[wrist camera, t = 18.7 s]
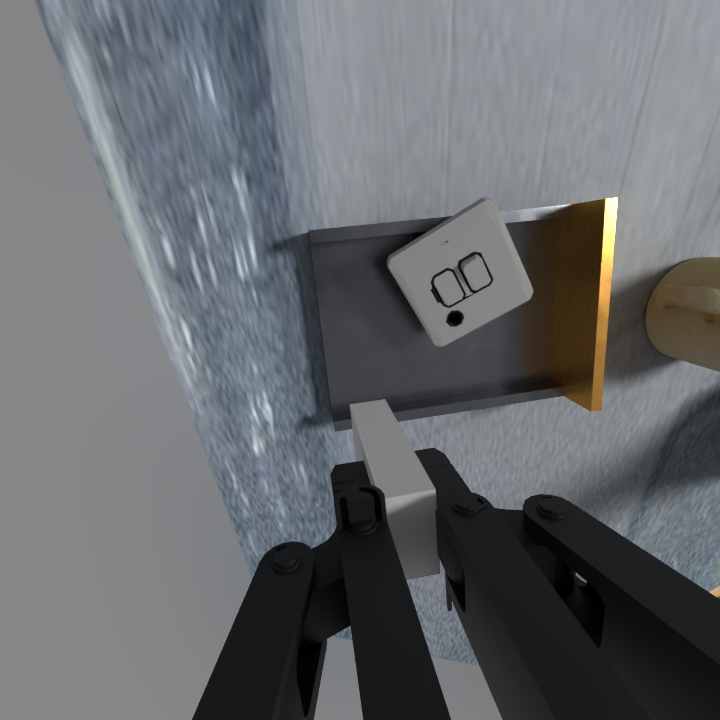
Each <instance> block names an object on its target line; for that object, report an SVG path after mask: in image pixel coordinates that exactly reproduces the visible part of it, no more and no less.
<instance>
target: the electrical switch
mask: <svg viewBox="0 0 720 720" xmlns="http://www.w3.org/2000/svg"><path fill="white" fill-rule="evenodd" d="M387 267H388V269H389V270H390V272H391V273H392V275H393V277H394V278H395V280H396V281H397V283H398V285H399V286H400V288H401V290H402V291H403V293H404V295H405V297H406V298H407V300H408V302H409V303H410V305H411V307H412V308H413V310H414V312H415V313H416V315H417V317H418V318H419V320H420V322H421V323H422V325H423V327H424V329H425V330H426V332H427V334H428V336H429V337H430V339H431V341H432V342H433V344H434V345H436V346H438V347H442V346H445V345H447V344H449V343H451V342H453V341H455V340H456V339H458V338H460V337H462V336H464V335H466V334H467V333H469V332H471V331H473V330H475V329H477V328H479V327H480V326H482V325H484V324H486V323H488V322H490V321H491V320H493V319H495V318H497V317H499V316H501V315H503V314H504V313H506V312H508V311H510V310H512V309H514V308H515V307H517V306H519V305H521V304H523V303H525V302H527V301H528V300H530V299H531V297H532V294H533V288H532V286H531V283H530V281H529V278H528V276H527V274H526V271H525V269H524V267H523V265H522V262H521V260H520V258H519V255H518V253H517V251H516V248H515V246H514V244H513V241H512V239H511V237H510V235H509V232H508V230H507V228H506V225H505V223H504V221H503V218H502V216H501V214H500V212H499V209H498V207H497V205H496V203H495V202H494V201H493V200H491V199H489V198H487V197H484V198H482V199H480V200H478V201H476V202H475V203H473V204H471V205H470V206H468V207H467V208H465V209H463V210H462V211H460V212H459V213H457V214H455V215H454V216H452V217H451V218H449V219H447V220H446V221H444V222H442V223H441V224H439V225H438V226H436V227H434V228H433V229H431V230H430V231H428V232H426V233H425V234H423V235H422V236H420V237H418V238H417V239H415V240H413V241H412V242H410V243H409V244H407V245H405V246H404V247H402V248H401V249H399V250H397V251H396V252H394V253H393V254H391V255H390V256H389V257H388V260H387Z"/></svg>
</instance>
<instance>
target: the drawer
mask: <svg viewBox="0 0 720 720" xmlns="http://www.w3.org/2000/svg"><path fill="white" fill-rule="evenodd" d="M617 200H618V198H609V199H602V200H596V201H589V202H583V203H577V204H570V205H560V206H550V207H540V208H530V209H520V210H510V211H500V214H501V216H502V218H503V221H504V223H505V225H506V228H507V230H508V232H509V235H510V237H511V239H512V241H513V244H514V246H515V248H516V251H517V253H518V255H519V258H520V260H521V262H522V265H523V267H524V269H525V271H526V274H527V276H528V278H529V281H530V283H531V286H532V288H533V294H532V297H531V299H530V300H528V301H527V302H525V303H523V304H521V305H519V306H517V307H515V308H514V309H512V310H510V311H508V312H506V313H504V314H503V315H501V316H499V317H497V318H495V319H493V320H491V321H490V322H488V323H486V324H484V325H482V326H480V327H479V328H477V329H475V330H473V331H471V332H469V333H467V334H466V335H464V336H462V337H460V338H458V339H456V340H455V341H453V342H451V343H449V344H447V345H445V346H442V347H438V346H436V345H434V344H433V342H432V341H431V339H430V337H429V336H428V334H427V332H426V330H425V329H424V327H423V325H422V323H421V322H420V320H419V318H418V317H417V315H416V313H415V312H414V310H413V308H412V307H411V305H410V303H409V302H408V300H407V298H406V297H405V295H404V293H403V291H402V290H401V288H400V286H399V285H398V283H397V281H396V280H395V278H394V277H393V275H392V273H391V272H390V270H389V269H388V267H387V260H388V257H389V256H390V255H391V254H393V253H394V252H396V251H397V250H399V249H401V248H402V247H404V246H405V245H407V244H409V243H410V242H412V241H413V240H415V239H417V238H418V237H420V236H422V235H423V234H425V233H426V232H428V231H430V230H431V229H433V228H434V227H436V226H438V225H439V224H441V223H442V222H444V221H446V220H447V219H449V218H451V217H452V216H450V217H440V218H430V219H420V220H410V221H400V222H390V223H380V224H370V225H359V226H349V227H339V228H329V229H319V230H309V232H308V234H309V242H310V249H311V257H312V265H313V272H314V280H315V288H316V295H317V303H318V311H319V318H320V326H321V334H322V341H323V349H324V357H325V364H326V372H327V380H328V387H329V395H330V403H331V410H332V417H333V423H334V428H335V431H341V430H348V429H353V428H352V420H351V411H350V404H356V403H362V402H369V401H376V400H382V399H385V400H386V402H387V404H388V405H389V407H390V409H391V411H392V412H393V414H394V416H395V418H396V420H397V421H398V422H399V421H406V420H412V419H418V418H425V417H431V416H438V415H444V414H450V413H457V412H463V411H470V410H476V409H483V408H489V407H495V406H502V405H508V404H515V403H521V402H527V401H534V400H540V399H547V398H553V397H559V396H564V397H566V398H568V399H570V400H571V401H573V402H575V403H577V404H578V405H580V406H582V407H584V408H586V409H587V410H589V411H597V410H601V406H602V393H603V380H604V367H605V355H606V342H607V329H608V316H609V303H610V290H611V278H612V265H613V252H614V239H615V226H616V213H617Z"/></svg>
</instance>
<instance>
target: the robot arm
mask: <svg viewBox="0 0 720 720" xmlns="http://www.w3.org/2000/svg"><path fill="white" fill-rule="evenodd" d="M350 411H351V420H352V428H353V437H354V446H355V454H356V462H351V463H345V464H339V465H335V467H334V469H333V470H332V472H331V482H332V490H333V497H334V507H335V514H336V521H337V526H336V529H335V532H334V533H333V535H332V536H331V537H330V538H329V539H328V540H327V541H325V542H324V543H322V544H320V545H319V546H317V547H314V548H312V549H311V548H310V547H309V546H307V545H306V544H304V543H301V542H294V541H293V542H286V543H282V544H280V545H277V546H275V547H273V548H272V549H271V550H269V551H268V552H267V553H266V554H265V555H264V556H263V558H262V559H261V561H260V563H259V565H258V567H257V570H256V572H255V574H254V577H253V579H252V582H251V584H250V586H249V588H248V591H247V593H246V595H245V598H244V600H243V602H242V605H241V607H240V609H239V612H238V614H237V616H236V619H235V621H234V623H233V626H232V628H231V630H230V632H229V635H228V637H227V639H226V642H225V644H224V647H223V649H222V651H221V653H220V656H219V658H218V660H217V663H216V665H215V667H214V670H213V672H212V675H211V677H210V679H209V681H208V684H207V686H206V688H205V691H204V693H203V696H202V698H201V700H200V702H199V705H198V707H197V709H196V712H195V714H194V716H193V719H192V720H314V715H315V709H316V703H317V698H318V692H319V687H320V681H321V675H322V670H323V664H324V659H325V653H326V647H327V638H329V637H331V636H333V635H335V634H336V633H338V632H340V631H342V630H343V629H345V628H347V627H349V626H350V625H351V632H352V639H353V647H354V654H355V661H356V669H357V676H358V684H359V691H360V698H361V705H362V712H363V720H451V718H450V715H449V712H448V709H447V706H446V702H445V699H444V696H443V693H442V690H441V687H440V684H439V681H438V678H437V675H436V672H435V668H434V665H433V662H432V659H431V656H430V653H429V650H428V646H427V643H426V640H425V637H424V634H423V631H422V628H421V625H420V622H419V619H418V615H417V612H416V609H415V606H414V603H413V600H412V597H411V594H410V591H409V587H408V584H407V581H406V580H409V579H414V578H419V577H424V576H429V575H434V574H439V573H440V561H439V558H440V560H441V563H442V565H443V567H444V569H445V580H446V600H447V608H448V611H451V610H452V602H453V604H454V607H455V609H456V611H457V614H458V616H459V618H460V621H461V623H462V625H463V628H464V630H465V632H466V635H467V637H468V639H469V642H470V644H471V646H472V649H473V651H474V653H475V656H476V658H477V661H478V663H479V665H480V667H481V670H482V672H483V674H484V677H485V679H486V682H487V684H488V686H489V689H490V691H491V693H492V696H493V698H494V700H495V703H496V705H497V707H498V710H499V712H500V714H501V717H502V719H503V720H720V599H718V598H717V597H715V596H714V595H712V594H711V593H709V592H708V591H706V590H705V589H703V588H702V587H700V586H698V585H697V584H695V583H694V582H692V581H691V580H689V579H688V578H686V577H685V576H683V575H682V574H680V573H678V572H677V571H675V570H674V569H672V568H671V567H669V566H668V565H666V564H665V563H663V562H661V561H660V560H658V559H657V558H655V557H654V556H652V555H651V554H649V553H648V552H646V551H645V550H643V549H641V548H640V547H638V546H637V545H635V544H634V543H632V542H631V541H629V540H628V539H626V538H625V537H623V536H621V535H620V534H618V533H617V532H615V531H614V530H612V529H611V528H609V527H608V526H606V525H605V524H603V523H601V522H600V521H598V520H597V519H595V518H594V517H592V516H591V515H589V514H588V513H586V512H585V511H583V510H581V509H580V508H578V507H577V506H575V505H574V504H572V503H571V502H569V501H567V500H565V499H563V498H561V497H557V496H553V495H544V494H539V495H534V496H531V497H529V498H528V499H526V500H525V502H524V504H523V510H506V509H497V508H494V507H493V506H492V504H491V503H490V502H489V501H488V500H487V499H486V498H484V497H483V496H480V495H478V494H476V493H472V492H471V491H470V490H469V488H468V487H467V485H466V484H465V482H464V481H463V480H462V478H461V477H460V475H459V474H458V472H457V471H455V468H454V467H453V465H452V464H451V463H450V461H449V460H448V458H447V457H446V455H445V454H444V453H442V452H440V451H439V450H437V449H435V448H430V449H423V450H417V451H414V450H413V448H412V446H411V445H410V443H409V441H408V439H407V437H406V436H405V434H404V432H403V430H402V429H401V427H400V425H399V423H398V421H397V420H396V418H395V416H394V414H393V412H392V411H391V409H390V407H389V405H388V404H387V402H386V400H385V399H382V400H376V401H369V402H362V403H356V404H350ZM576 573H578V574H579V575H580V576H581V577H582V578H584V579H585V580H586V581H587V583H585V582H583V581H582V580H580V579H579V578H578V577H577V576H576Z"/></svg>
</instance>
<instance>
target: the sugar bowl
mask: <svg viewBox="0 0 720 720" xmlns="http://www.w3.org/2000/svg"><path fill="white" fill-rule="evenodd" d="M645 325H646V331H647V335H648V337H649V340H650V341H651V343H652V344H653V345H654V347H655V348H656V349H657V350H658V351H660V352H661V353H663V354H665V355H667V356H670V357H673V358H676V359H680V360H683V361H686V362H689V363H692V364H695V365H699V366H702V367H705V368H709V369H712V370H716V371H719V372H720V257H701V258H694V259H691V260H687V261H685V262H682V263H680V264H678V265H677V266H675V267H674V268H673V269H671V270H670V271H669V272H668V273H667V274H666V275H665V276H664V277H663V278H662V279H661V280H660V281H659V283H658V284H657V285H656V287H655V289H654V290H653V292H652V294H651V296H650V299H649V302H648V305H647V309H646V316H645Z"/></svg>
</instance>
